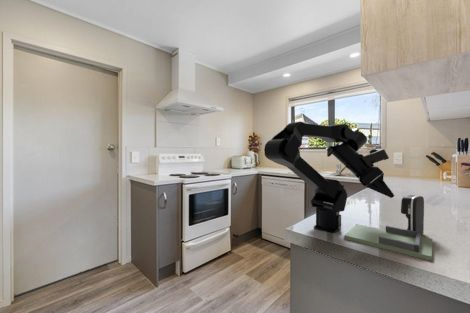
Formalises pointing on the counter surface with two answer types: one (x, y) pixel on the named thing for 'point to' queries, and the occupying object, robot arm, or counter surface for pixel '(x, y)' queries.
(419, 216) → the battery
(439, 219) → the counter surface
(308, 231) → the counter surface
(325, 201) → the robot arm
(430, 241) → the mounting plate
